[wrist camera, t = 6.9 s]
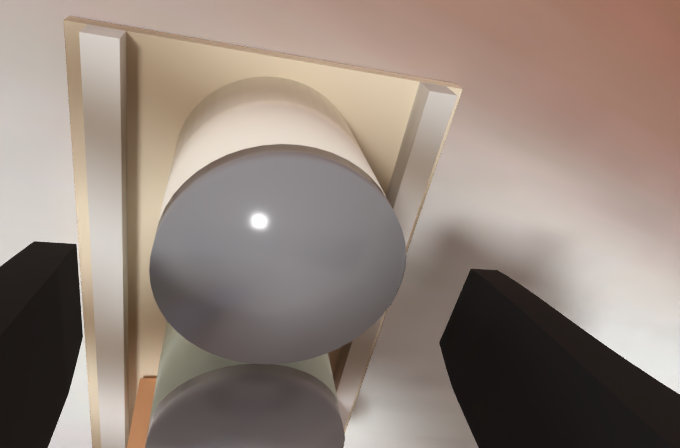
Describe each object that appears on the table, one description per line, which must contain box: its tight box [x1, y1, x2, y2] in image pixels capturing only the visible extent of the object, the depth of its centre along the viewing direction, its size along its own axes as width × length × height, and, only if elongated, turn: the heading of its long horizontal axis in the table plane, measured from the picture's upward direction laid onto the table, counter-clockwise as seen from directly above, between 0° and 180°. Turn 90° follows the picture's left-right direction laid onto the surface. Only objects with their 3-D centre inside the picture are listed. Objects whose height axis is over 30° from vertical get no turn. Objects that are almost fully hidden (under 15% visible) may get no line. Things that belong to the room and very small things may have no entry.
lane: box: [64, 16, 462, 448], centre depth 15 cm, size 20×10×6 cm, turn 168°
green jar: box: [145, 320, 345, 448], centre depth 15 cm, size 5×5×5 cm
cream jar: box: [149, 76, 406, 365], centre depth 12 cm, size 5×5×5 cm
